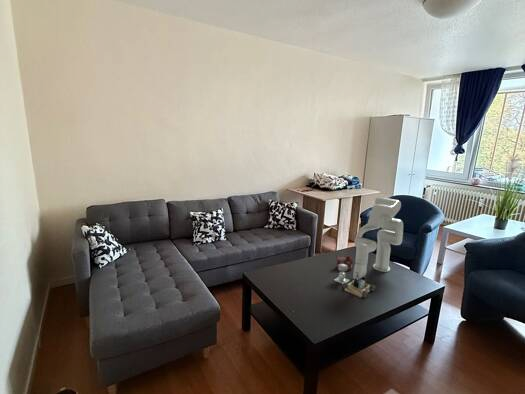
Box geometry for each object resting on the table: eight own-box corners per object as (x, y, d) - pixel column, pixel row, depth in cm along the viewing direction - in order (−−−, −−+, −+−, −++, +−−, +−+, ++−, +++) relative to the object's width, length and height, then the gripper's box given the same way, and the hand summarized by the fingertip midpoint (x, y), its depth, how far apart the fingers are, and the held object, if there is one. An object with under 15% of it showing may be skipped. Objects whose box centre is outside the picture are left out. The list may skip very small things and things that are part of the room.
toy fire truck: (353, 271, 213) (354, 258, 211) (336, 269, 215) (337, 257, 213) (351, 267, 220) (352, 254, 218) (335, 265, 222) (336, 253, 219)
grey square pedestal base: (339, 276, 204) (340, 269, 202) (349, 280, 198) (350, 273, 197) (333, 280, 198) (334, 272, 197) (343, 284, 193) (344, 276, 191)
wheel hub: (341, 266, 200) (341, 262, 200) (348, 269, 196) (349, 265, 195) (336, 269, 196) (337, 265, 196) (344, 272, 192) (344, 268, 191)
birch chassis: (353, 281, 198) (354, 275, 197) (375, 290, 187) (376, 284, 186) (341, 289, 187) (342, 283, 186) (364, 299, 176) (364, 293, 175)
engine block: (357, 285, 190) (358, 277, 189) (364, 288, 187) (365, 279, 185) (353, 288, 187) (354, 279, 185) (360, 291, 183) (361, 282, 182)
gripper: (362, 255, 191) (360, 278, 195) (349, 262, 179) (347, 287, 183) (373, 258, 186) (370, 282, 189) (360, 266, 174) (358, 291, 178)
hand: (359, 284), depth 186 cm, fingers open, 8 cm apart
